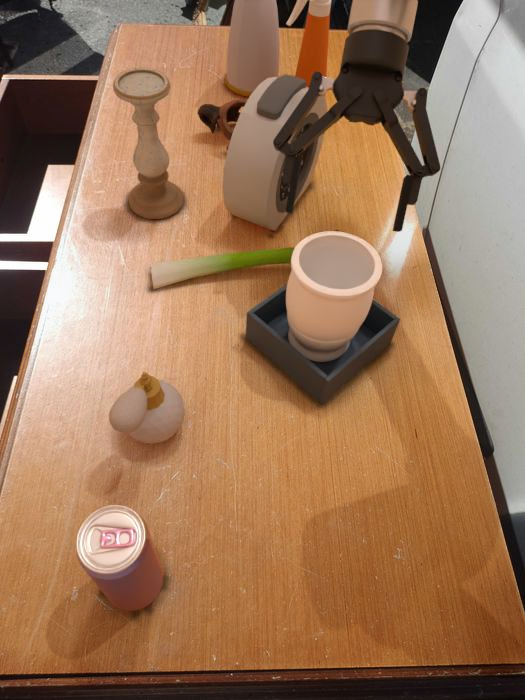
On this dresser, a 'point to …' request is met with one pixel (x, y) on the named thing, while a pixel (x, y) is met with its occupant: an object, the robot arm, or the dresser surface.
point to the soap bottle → (252, 45)
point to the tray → (315, 377)
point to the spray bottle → (313, 38)
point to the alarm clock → (268, 152)
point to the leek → (215, 264)
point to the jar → (329, 292)
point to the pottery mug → (221, 116)
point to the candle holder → (149, 144)
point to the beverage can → (120, 556)
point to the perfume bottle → (148, 410)
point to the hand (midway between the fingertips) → (342, 221)
